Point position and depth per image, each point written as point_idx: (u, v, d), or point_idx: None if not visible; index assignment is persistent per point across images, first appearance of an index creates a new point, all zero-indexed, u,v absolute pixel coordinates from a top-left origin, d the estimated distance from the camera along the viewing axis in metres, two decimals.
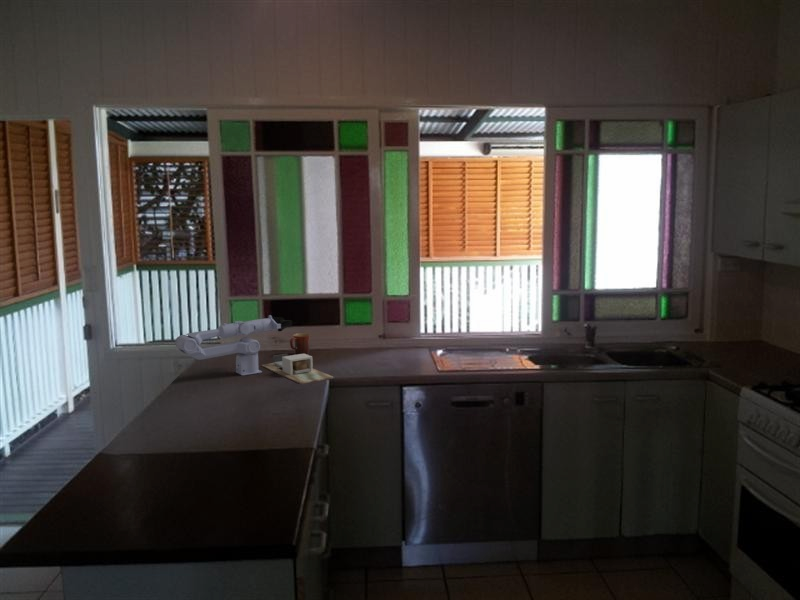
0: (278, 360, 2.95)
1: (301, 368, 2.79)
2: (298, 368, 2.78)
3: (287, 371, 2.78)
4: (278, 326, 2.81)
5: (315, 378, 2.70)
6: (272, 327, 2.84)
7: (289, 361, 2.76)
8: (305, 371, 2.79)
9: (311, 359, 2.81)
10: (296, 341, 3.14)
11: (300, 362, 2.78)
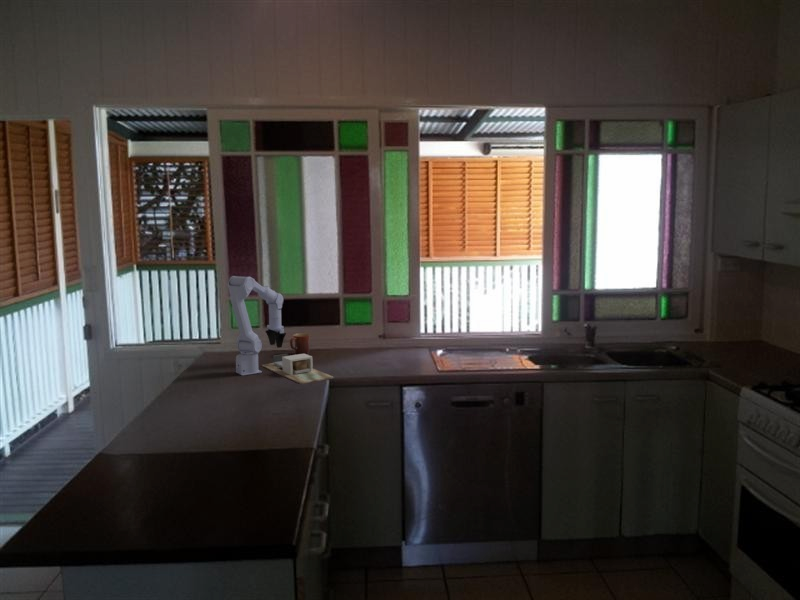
0: (278, 360, 2.95)
1: (301, 368, 2.79)
2: (298, 368, 2.78)
3: (287, 371, 2.78)
4: (282, 330, 2.92)
5: (315, 378, 2.70)
6: (275, 328, 2.95)
7: (289, 361, 2.76)
8: (305, 371, 2.79)
9: (311, 359, 2.81)
10: (296, 341, 3.14)
11: (300, 362, 2.78)
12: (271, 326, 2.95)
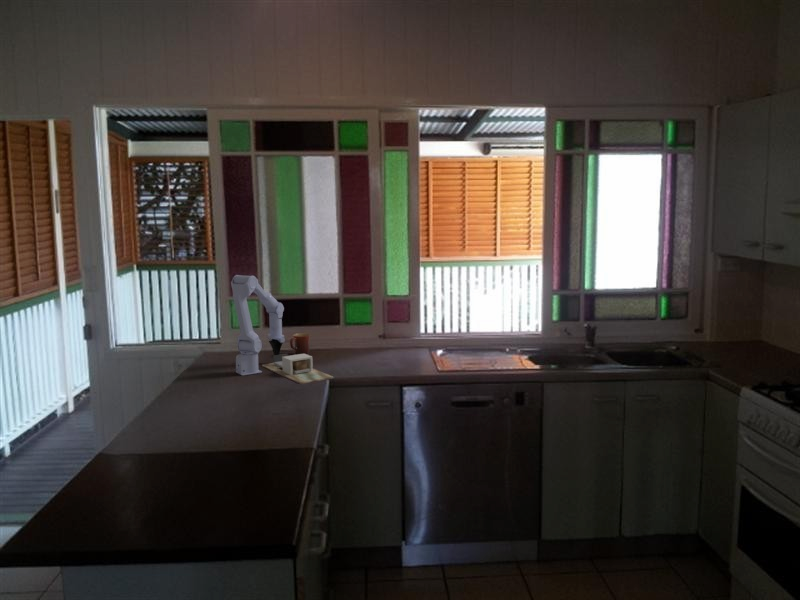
0: (278, 360, 2.95)
1: (301, 368, 2.79)
2: (298, 368, 2.78)
3: (287, 371, 2.78)
4: (282, 340, 2.92)
5: (315, 378, 2.70)
6: (276, 337, 2.95)
7: (289, 361, 2.76)
8: (305, 371, 2.79)
9: (311, 359, 2.81)
10: (296, 341, 3.14)
11: (300, 362, 2.78)
12: (272, 335, 2.95)
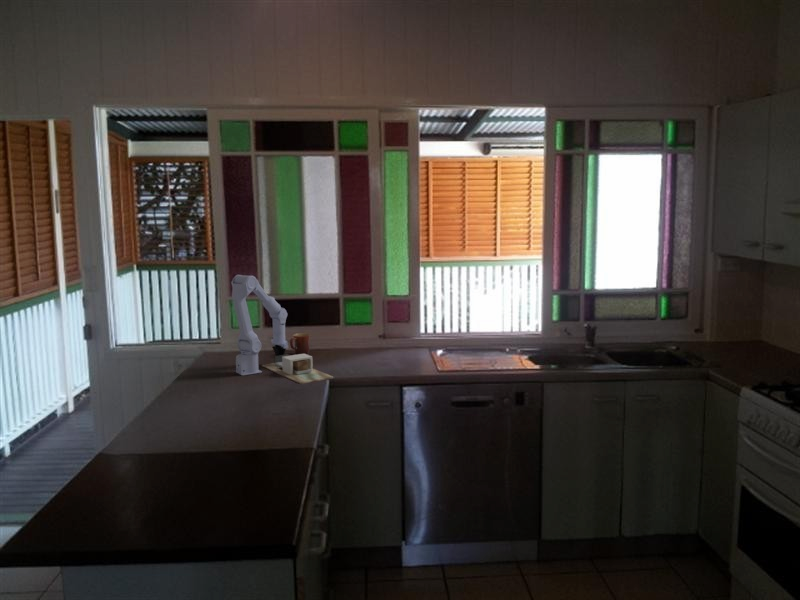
0: (279, 361, 2.94)
1: (303, 368, 2.78)
2: (299, 369, 2.77)
3: (287, 371, 2.78)
4: (286, 345, 2.90)
5: (315, 378, 2.70)
6: (279, 342, 2.93)
7: (289, 361, 2.76)
8: (306, 372, 2.78)
9: (311, 359, 2.81)
10: (296, 341, 3.14)
11: (301, 363, 2.77)
12: (275, 341, 2.93)
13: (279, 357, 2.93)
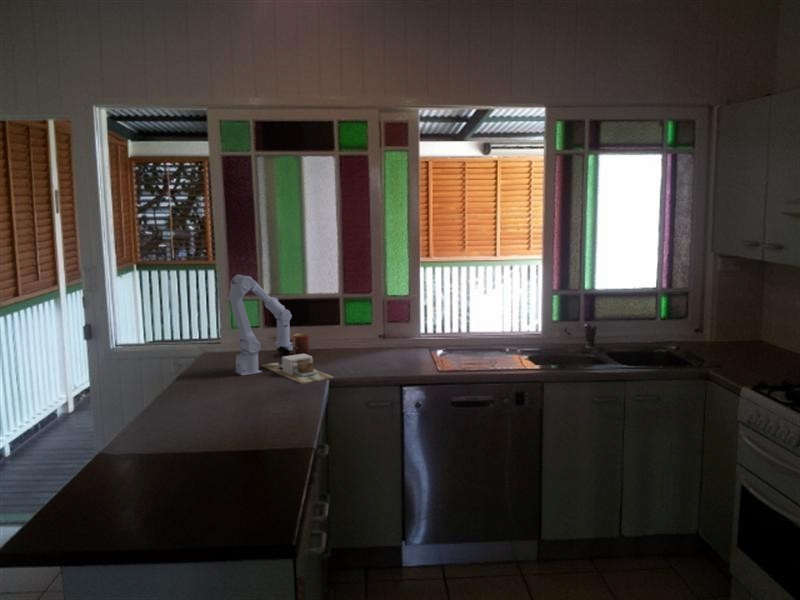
0: None
1: (308, 370, 2.74)
2: (304, 371, 2.73)
3: (287, 371, 2.78)
4: (290, 347, 2.86)
5: (315, 378, 2.70)
6: (284, 344, 2.89)
7: (289, 361, 2.76)
8: (312, 374, 2.74)
9: (311, 359, 2.81)
10: (296, 341, 3.14)
11: (306, 365, 2.73)
12: (279, 343, 2.89)
13: None
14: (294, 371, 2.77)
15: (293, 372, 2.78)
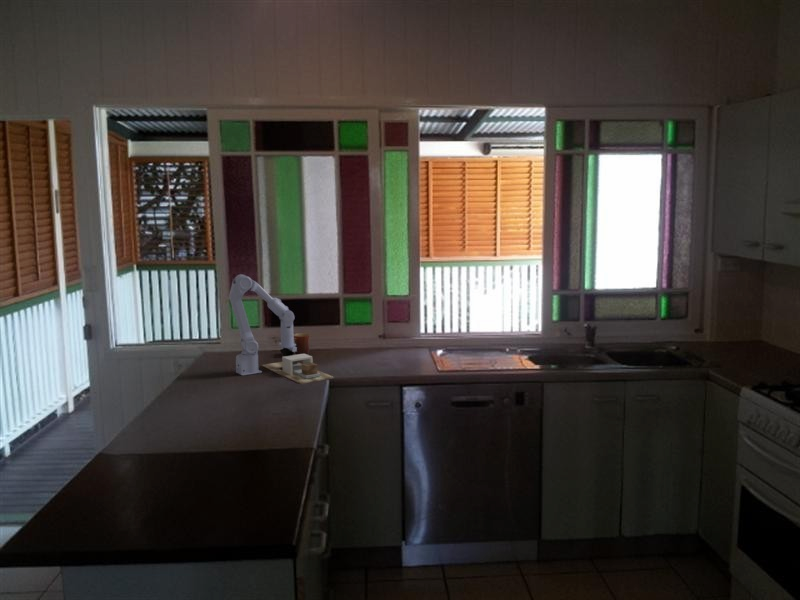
0: None
1: (312, 372, 2.71)
2: (309, 372, 2.70)
3: (287, 371, 2.78)
4: (294, 349, 2.83)
5: (315, 378, 2.70)
6: (287, 346, 2.86)
7: (289, 361, 2.76)
8: (316, 376, 2.71)
9: (311, 359, 2.81)
10: (296, 341, 3.14)
11: (311, 366, 2.70)
12: (283, 344, 2.86)
13: None
14: (298, 373, 2.74)
15: (297, 374, 2.75)
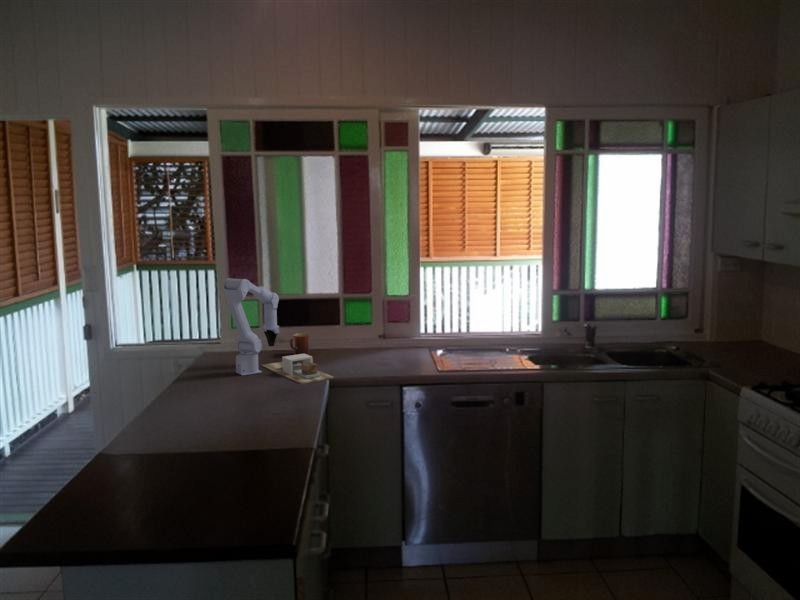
0: None
1: (312, 372, 2.71)
2: (309, 372, 2.70)
3: (287, 371, 2.78)
4: (277, 330, 2.89)
5: (315, 378, 2.70)
6: (271, 327, 2.92)
7: (289, 361, 2.76)
8: (316, 376, 2.71)
9: (311, 359, 2.81)
10: (296, 341, 3.14)
11: (311, 366, 2.70)
12: (266, 326, 2.93)
13: None
14: (298, 373, 2.74)
15: (297, 374, 2.75)
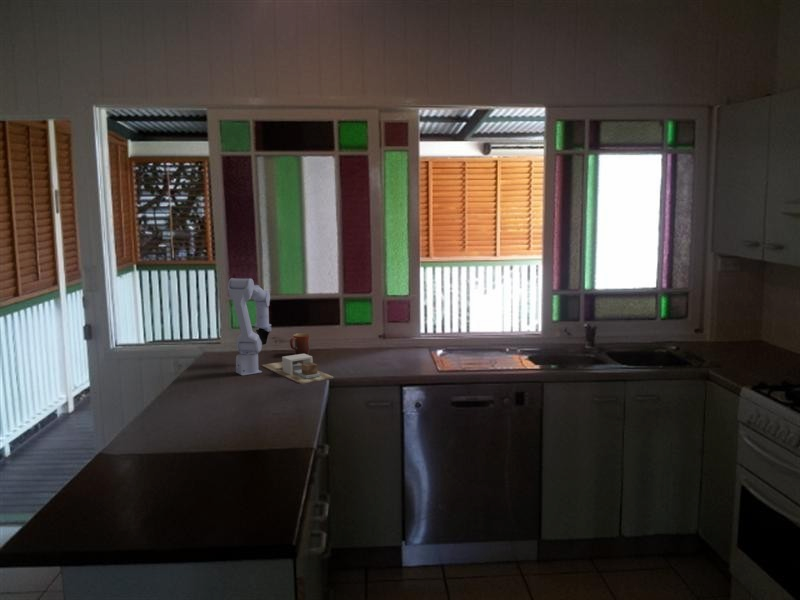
0: None
1: (312, 372, 2.71)
2: (309, 372, 2.70)
3: (287, 371, 2.78)
4: (269, 328, 2.91)
5: (315, 378, 2.70)
6: (263, 326, 2.94)
7: (289, 361, 2.76)
8: (316, 376, 2.71)
9: (311, 359, 2.81)
10: (296, 341, 3.14)
11: (311, 366, 2.70)
12: (258, 324, 2.94)
13: None
14: (298, 373, 2.74)
15: (297, 374, 2.75)
